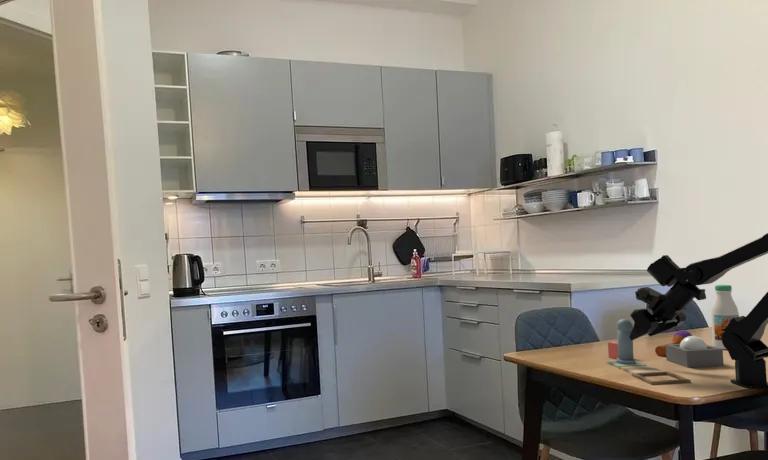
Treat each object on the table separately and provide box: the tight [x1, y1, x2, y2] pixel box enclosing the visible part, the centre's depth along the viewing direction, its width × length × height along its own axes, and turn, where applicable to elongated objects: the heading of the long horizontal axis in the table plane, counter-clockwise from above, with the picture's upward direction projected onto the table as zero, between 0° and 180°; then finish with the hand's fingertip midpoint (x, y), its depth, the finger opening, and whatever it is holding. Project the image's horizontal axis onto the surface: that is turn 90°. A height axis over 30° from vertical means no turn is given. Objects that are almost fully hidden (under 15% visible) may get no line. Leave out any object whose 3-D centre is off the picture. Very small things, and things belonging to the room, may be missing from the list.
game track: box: [605, 359, 691, 386], centre depth 154 cm, size 27×10×1 cm, turn 4°
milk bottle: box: [710, 284, 740, 350], centre depth 182 cm, size 8×8×20 cm
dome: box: [680, 335, 708, 350], centre depth 163 cm, size 7×7×7 cm
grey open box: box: [665, 343, 725, 368], centre depth 163 cm, size 10×10×4 cm
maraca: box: [654, 329, 693, 357], centre depth 180 cm, size 6×6×20 cm
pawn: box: [615, 318, 637, 364], centre depth 164 cm, size 5×5×12 cm
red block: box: [607, 340, 618, 360], centre depth 174 cm, size 4×4×5 cm
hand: (639, 336), depth 160 cm, fingers open, 9 cm apart
